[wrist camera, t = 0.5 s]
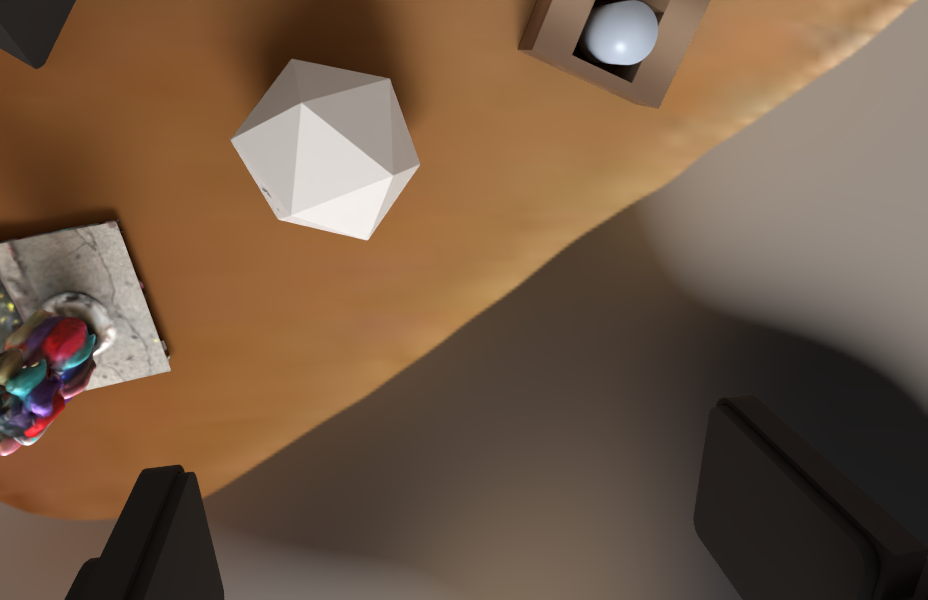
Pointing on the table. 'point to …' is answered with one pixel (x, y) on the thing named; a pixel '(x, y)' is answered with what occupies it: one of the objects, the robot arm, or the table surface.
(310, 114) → the die
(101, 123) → the table surface
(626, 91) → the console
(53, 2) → the device stand
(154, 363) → the statue
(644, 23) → the slate blue button
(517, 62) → the table surface
